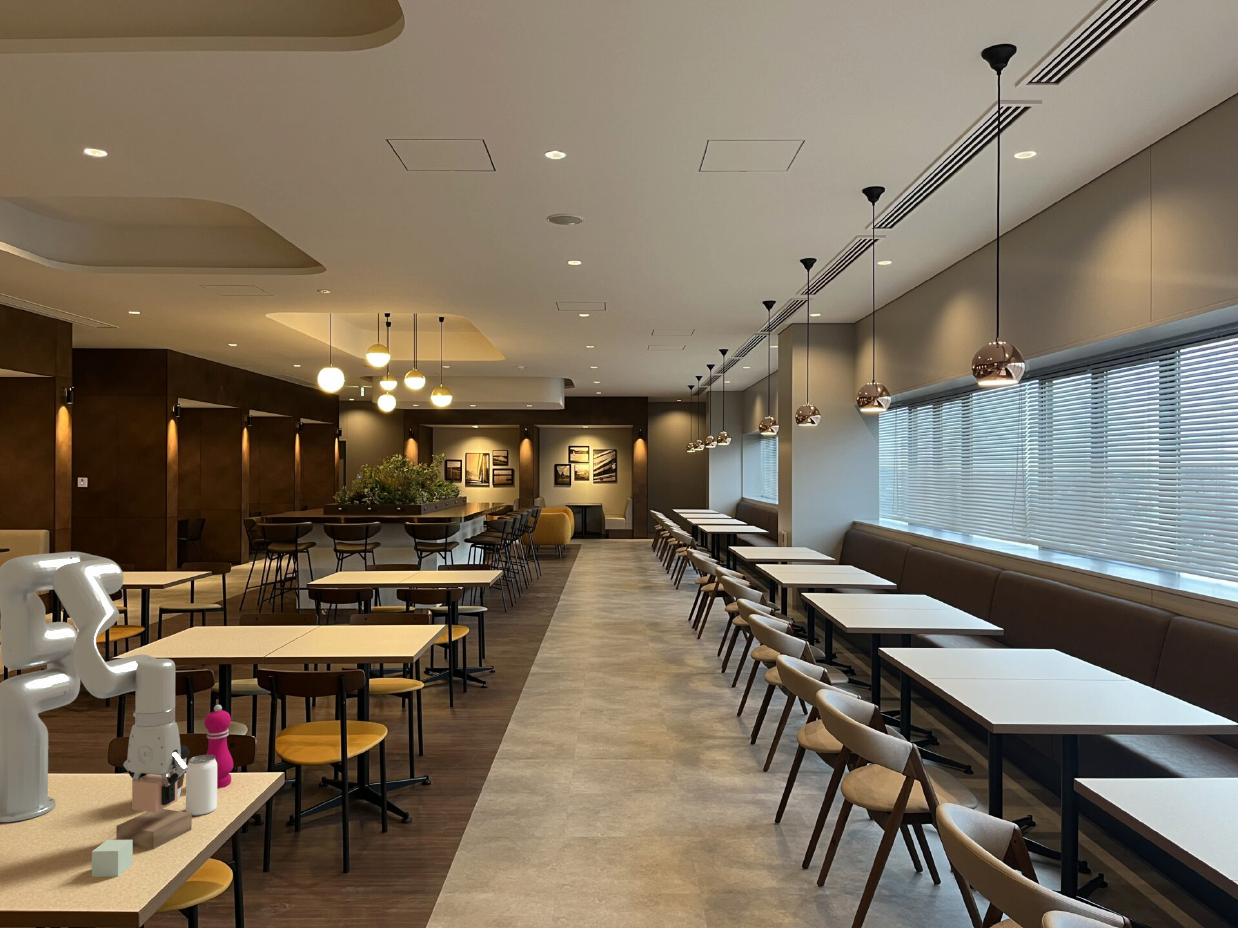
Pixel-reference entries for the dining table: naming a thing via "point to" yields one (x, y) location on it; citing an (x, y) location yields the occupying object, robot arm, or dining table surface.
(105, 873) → the sage cube
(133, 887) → the dining table surface
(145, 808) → the clay cube
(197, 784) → the can
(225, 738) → the pepper mill
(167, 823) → the walnut block
